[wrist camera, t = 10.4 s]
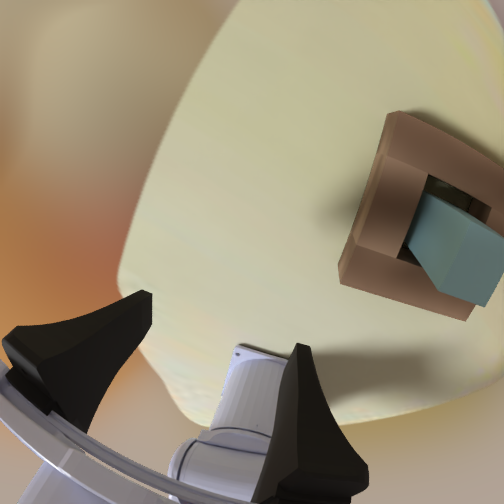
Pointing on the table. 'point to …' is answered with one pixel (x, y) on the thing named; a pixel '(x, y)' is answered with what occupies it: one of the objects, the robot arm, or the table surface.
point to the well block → (404, 206)
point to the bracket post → (456, 250)
